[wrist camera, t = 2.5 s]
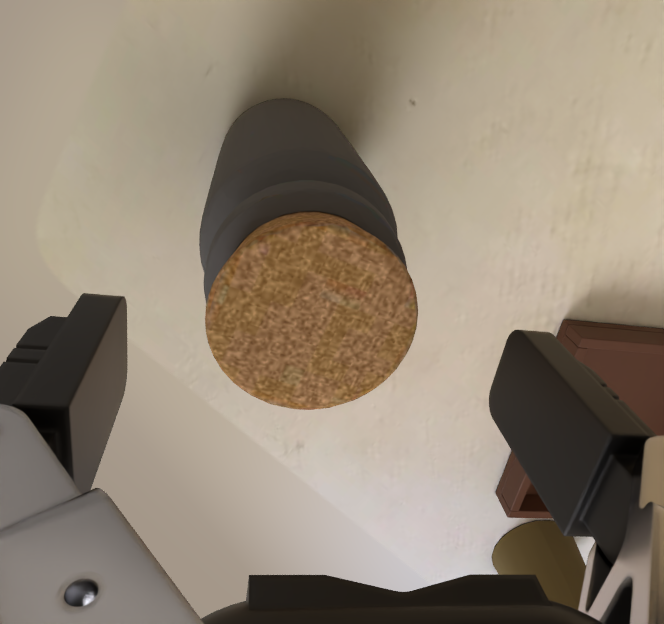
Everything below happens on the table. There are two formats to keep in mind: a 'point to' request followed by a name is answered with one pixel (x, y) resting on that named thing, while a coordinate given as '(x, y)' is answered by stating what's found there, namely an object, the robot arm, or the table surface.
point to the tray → (619, 374)
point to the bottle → (302, 263)
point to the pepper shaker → (543, 560)
